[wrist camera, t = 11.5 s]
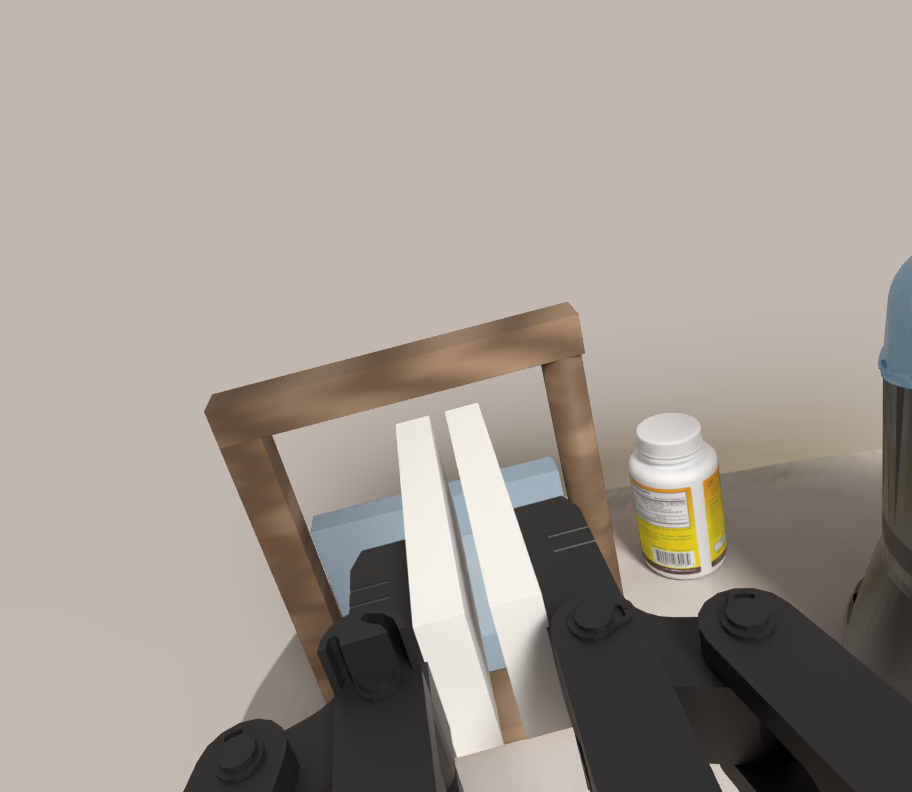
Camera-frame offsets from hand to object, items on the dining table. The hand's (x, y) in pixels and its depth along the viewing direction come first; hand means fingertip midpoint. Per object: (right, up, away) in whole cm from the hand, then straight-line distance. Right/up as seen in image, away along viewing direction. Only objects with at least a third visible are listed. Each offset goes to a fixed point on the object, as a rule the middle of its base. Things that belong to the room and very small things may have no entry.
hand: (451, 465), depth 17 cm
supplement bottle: (+16, -10, +34) cm, 39 cm away
